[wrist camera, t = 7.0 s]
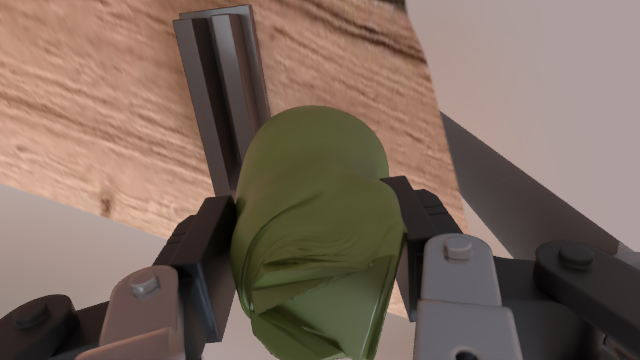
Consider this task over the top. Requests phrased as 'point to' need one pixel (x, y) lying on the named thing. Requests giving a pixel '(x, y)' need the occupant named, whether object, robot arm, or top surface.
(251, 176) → the pear
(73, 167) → the top surface
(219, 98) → the holder
